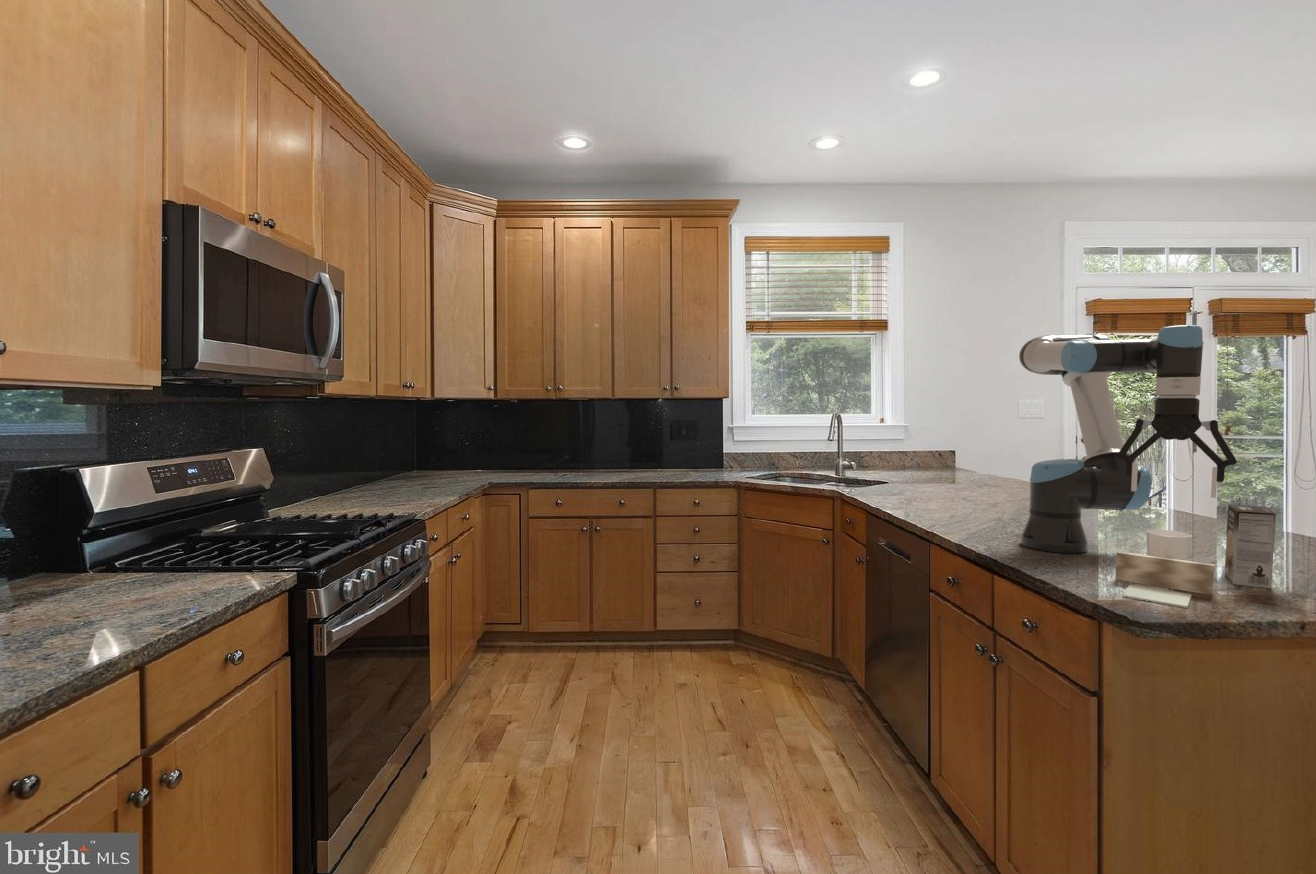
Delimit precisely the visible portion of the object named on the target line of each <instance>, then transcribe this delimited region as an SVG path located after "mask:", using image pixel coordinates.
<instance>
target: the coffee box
mask: <svg viewBox="0 0 1316 874" xmlns="http://www.w3.org/2000/svg"><path fill="white" fill-rule="evenodd" d="M1276 520H1277V513H1275V512H1274V511H1272V509H1269V508H1268V507H1266V506H1256V505H1255V506H1253V505H1252V506H1251V505H1238V504H1237V505H1236V504H1228V505H1227V520H1226V521H1227V522H1226V523H1227V524H1226V542H1225V543H1226V544H1225V559H1224V560H1225V561H1224V562H1225V563H1224V575H1225V576H1226V577H1227V579H1229V580H1230V582H1231V583H1232V585H1236V586H1246V587H1252V586H1253V588H1254V587H1255V588H1261V587H1263V589H1264V588H1265V589H1270V588H1271V589H1272V582H1273V566H1274V553H1275V552H1274V551H1275V550H1274V549H1275V540H1276V539H1275V535H1276V524H1277V523H1276V522H1277V521H1276Z"/></svg>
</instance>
